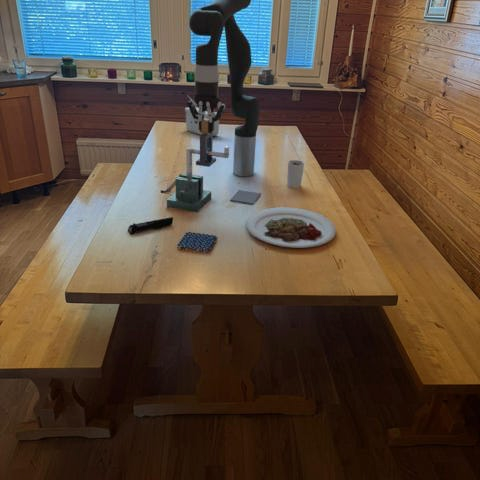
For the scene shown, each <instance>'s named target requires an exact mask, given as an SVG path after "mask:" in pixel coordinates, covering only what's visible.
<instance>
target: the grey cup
mask: <svg viewBox="0 0 480 480" xmlns="http://www.w3.org/2000/svg"><path fill="white" fill-rule="evenodd" d="M304 166H305V162H304V161H302V160H299V159H292V160H288V161H287V178H286V179H287V181H286V183H287V184H286V185H287V187H288V188H292V189H299V188H301V185H302V181H303V180H302V179H303V175H304V174H303V173H304V168H305V167H304ZM298 187H299V188H298Z"/></svg>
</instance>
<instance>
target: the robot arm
mask: <svg viewBox="0 0 480 480" xmlns="http://www.w3.org/2000/svg"><path fill="white" fill-rule="evenodd" d="M251 3H252V0H213V1H212V2H211V3H210V4H208V5H206V6H202V7H199V8H197V9H195V10H194V11H193V12H192V13H191V15H190V17H189V23H188V25H189V29H190V30H191V32H192V33H193V34H194V35H196V36H200V37H201V36H205V37H210V38H209V41H208V42H206V43H201V44H198V45H196V47H195V68H194V92H195V93H194V94H195V95H194V98H193V99H192V100H188V101H187V102H186V105H187V108H188V107H189V109H190V112H191V114H192V116H193V118H194V119H197V120H198V121H199V130H200V132H201V120H202V119H204V114H205V111H207V113H208V117H209V133H212V132H213V131H214V122H215V121H217V120H219V121H220V119H221V117H222V115H223V113H224V111H225V109H226V107H227V104H226V103H222V102H221V101H220V99H219V65H218V63H219V61H218V59H219V57H218V55H219V48H220V44H221V43H220V42H221V39H222V35H223V32H224V35H225V45H226V46H225V47H226V56H227V63H228V73H229V82H230V84H229V85H230V107H231V112H232V115H233V116H234V117H236V118H238V119H239V118H240V119H243V120H245V121H244V124H242V125H238V126H236V127H235V128H234V142H233V145H234V146H233V169H232V171H233V172H232V173H233V174H234V175H235V176H239V177H251V176H253V175H254V174H255V162H256V160H255V159H256V158H255V157H256V144H257V142H256V141H257V130H258V129H259V119H260V110H261V109H260V108H261V105H260V104H261V103H260V100H259V98H257V97H255V96H250V95H245V94H244V81H245V79H246V78H247V75H248V73H249V71H250V69H251V66H252V62H253V61H252V51H251V43H250V42H249V40H248V39H247V36H246V35H245V34H244V33H243V31H242V29H240V27H239V25H238V24H237V21H236V18H235V14H237V13H238V12H240V11H242V10H246V9H247V8H248V7H249V6H250V4H251ZM195 103H196V105H197V106H198V108H199V110H198V112H197V110H196V107H197V106H196V105H195ZM216 107H217V111H215V109H216ZM215 112H217V114H216V116H215V117H214V113H215Z"/></svg>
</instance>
